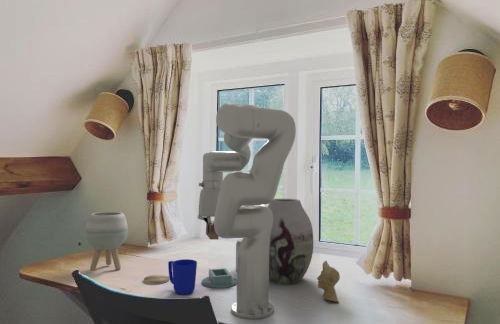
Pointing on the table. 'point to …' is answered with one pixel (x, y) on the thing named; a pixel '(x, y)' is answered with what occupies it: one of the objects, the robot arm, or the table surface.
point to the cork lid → (156, 279)
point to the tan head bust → (328, 282)
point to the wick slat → (211, 231)
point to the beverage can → (237, 248)
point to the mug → (183, 275)
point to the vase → (289, 242)
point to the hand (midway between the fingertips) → (212, 234)
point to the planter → (106, 236)
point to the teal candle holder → (219, 279)
